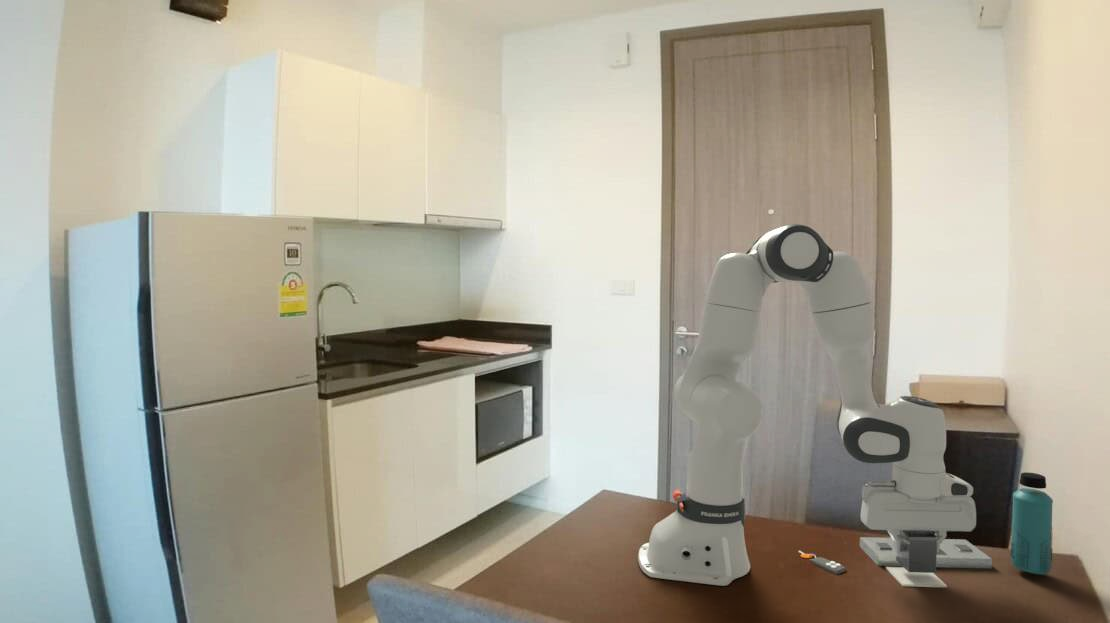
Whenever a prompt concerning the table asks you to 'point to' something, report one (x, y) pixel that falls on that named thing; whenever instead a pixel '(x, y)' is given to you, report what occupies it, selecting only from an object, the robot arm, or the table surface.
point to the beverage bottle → (1032, 526)
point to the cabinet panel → (949, 555)
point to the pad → (915, 578)
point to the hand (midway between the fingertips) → (916, 550)
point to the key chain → (825, 563)
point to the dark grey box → (918, 551)
